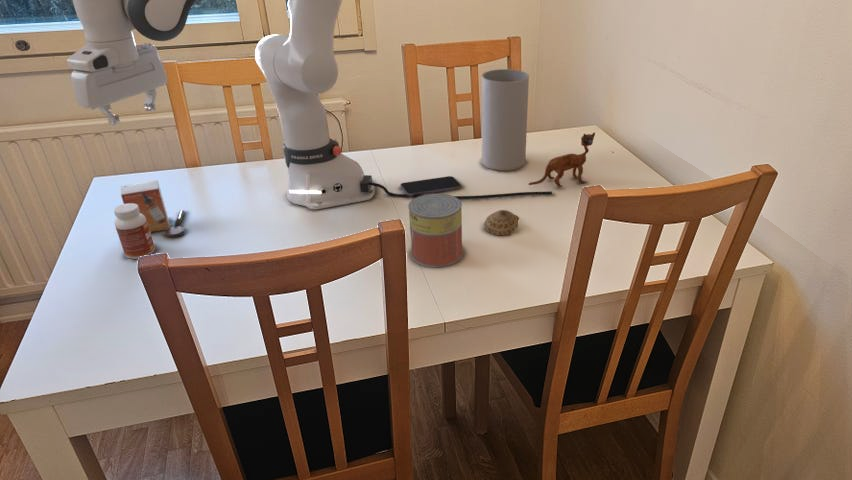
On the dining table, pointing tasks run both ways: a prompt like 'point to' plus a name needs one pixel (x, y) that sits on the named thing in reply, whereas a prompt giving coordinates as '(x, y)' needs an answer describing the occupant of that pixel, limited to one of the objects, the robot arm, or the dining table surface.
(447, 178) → the smartphone
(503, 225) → the seashell
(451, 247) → the canned food
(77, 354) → the dining table surface
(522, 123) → the cylinder vase
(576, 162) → the cat figurine
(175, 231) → the long handled flat disc
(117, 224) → the pill bottle
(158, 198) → the small box
